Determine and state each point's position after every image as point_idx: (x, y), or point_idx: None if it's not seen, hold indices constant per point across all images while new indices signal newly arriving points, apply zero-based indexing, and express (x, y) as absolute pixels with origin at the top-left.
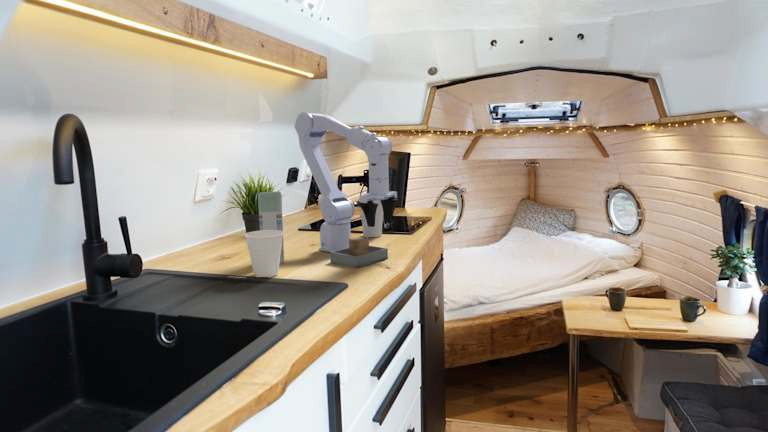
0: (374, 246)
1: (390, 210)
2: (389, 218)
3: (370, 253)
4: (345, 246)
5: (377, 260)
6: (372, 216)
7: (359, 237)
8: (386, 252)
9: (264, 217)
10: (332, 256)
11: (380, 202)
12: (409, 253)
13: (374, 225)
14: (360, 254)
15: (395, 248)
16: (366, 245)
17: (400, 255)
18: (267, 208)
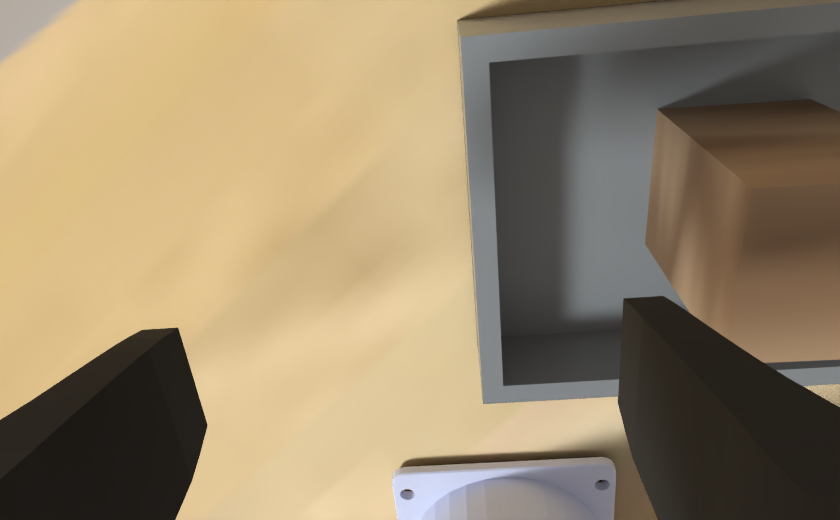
0: (479, 237)
1: (24, 511)
2: (140, 389)
3: (813, 4)
4: (531, 506)
5: (641, 3)
6: (821, 405)
7: (755, 329)
8: (482, 28)
9: None
10: None
11: None
12: (108, 11)
13: (637, 303)
14: (835, 119)
15: (90, 279)
16: (763, 154)
17: (250, 21)
18: None
